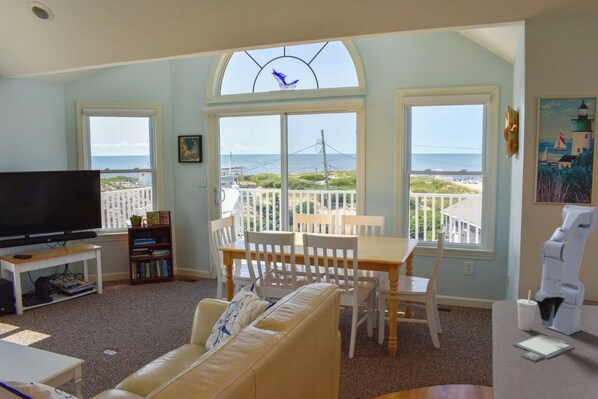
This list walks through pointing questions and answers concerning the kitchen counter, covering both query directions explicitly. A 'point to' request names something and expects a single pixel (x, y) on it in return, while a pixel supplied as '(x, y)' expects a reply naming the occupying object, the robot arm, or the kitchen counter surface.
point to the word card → (532, 356)
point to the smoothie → (526, 312)
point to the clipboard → (544, 345)
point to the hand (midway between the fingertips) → (547, 319)
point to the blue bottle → (550, 322)
